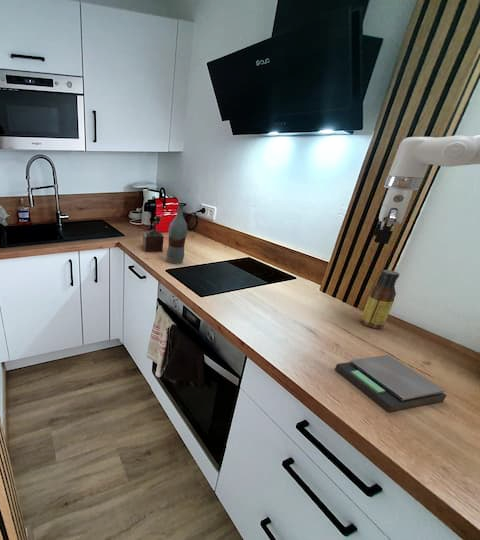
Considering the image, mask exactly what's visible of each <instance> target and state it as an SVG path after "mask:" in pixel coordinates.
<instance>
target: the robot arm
mask: <svg viewBox="0 0 480 540" xmlns="http://www.w3.org/2000/svg"><path fill="white" fill-rule="evenodd" d="M429 165H432V166H439V167H447V168H452V167H459V166H460V167H461V166H473V165H474V166H475V165H480V134H477V135H467V134H466V135H465V134H462V135H449V136H441V137H439V136H437V137H434V136H409V137H405V138H403V139H402V140H401V141H400V144H399V146H398V149H397V151H396V154H395V157H394V159H393V162H392V165H391V167H390V170H389V172H388V175H387V177H386V179H385V184H383V185H384V186H383V188H386V189H387V191H386V194H385V197H384V198H383V201H382V204H381V208H380V212H379V216H378V220H379V221H378V223H377V224H376V227H375V229H374V231H373V234H372V235H373V236H374V241H373V242H374V243H377V244H383V245H387V244H389V242H390V239H391V238H392V235H393V232H394V231H393V230H394V227H395V224H397V225H401V224H402V222H403V219H404V217H405V214H406V212H407V209H408V206H409V204H410V201H411V198H412V196H413V191H418V190H419V188H420V186H421V184H422V181H423V179H424V177H425V175H426V173H427V171H428V167H429Z"/></svg>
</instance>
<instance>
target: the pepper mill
mask: <svg viewBox="0 0 480 540" xmlns="http://www.w3.org/2000/svg"><path fill="white" fill-rule="evenodd" d="M154 220H155V221H152V223H151V226H152V229H151V230H148V231H143V232H142V249H143V250H144V252H145V253H163V252H164V250H163V249H164V238H165V237H164V235H163V234H162V231H160V230H156V229H155V228H156V227H155V226H156V225H160V224H161V222H160V221H161V220H162V217H161V216H160V215H155V216H154Z"/></svg>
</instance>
